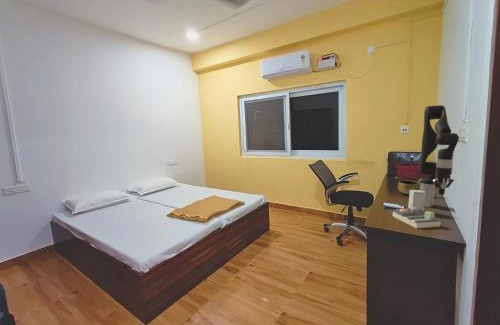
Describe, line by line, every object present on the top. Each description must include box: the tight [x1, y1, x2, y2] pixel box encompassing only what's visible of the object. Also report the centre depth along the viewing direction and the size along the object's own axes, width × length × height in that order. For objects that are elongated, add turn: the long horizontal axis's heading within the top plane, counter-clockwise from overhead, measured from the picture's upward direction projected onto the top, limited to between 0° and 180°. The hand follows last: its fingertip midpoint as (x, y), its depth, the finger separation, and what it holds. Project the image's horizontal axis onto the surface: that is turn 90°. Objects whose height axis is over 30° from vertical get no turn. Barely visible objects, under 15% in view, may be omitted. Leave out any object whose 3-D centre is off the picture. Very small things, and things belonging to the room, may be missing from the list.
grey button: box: [410, 207, 420, 212], centre depth 159 cm, size 5×5×2 cm
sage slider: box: [424, 210, 436, 220], centre depth 148 cm, size 4×3×4 cm
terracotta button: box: [398, 208, 409, 212], centre depth 158 cm, size 5×5×2 cm
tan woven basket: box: [394, 176, 422, 196], centre depth 213 cm, size 22×17×15 cm
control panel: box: [392, 207, 442, 229], centre depth 154 cm, size 20×16×5 cm
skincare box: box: [407, 189, 426, 211], centre depth 171 cm, size 8×6×15 cm
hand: (441, 194), depth 147 cm, fingers closed
